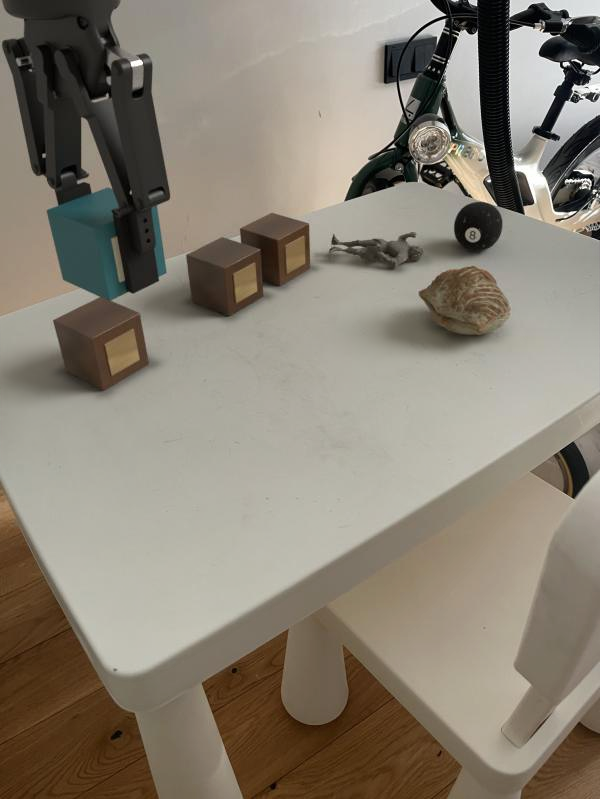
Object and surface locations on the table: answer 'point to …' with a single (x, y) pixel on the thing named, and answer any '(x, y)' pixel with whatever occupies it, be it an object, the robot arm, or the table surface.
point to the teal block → (94, 244)
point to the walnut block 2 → (225, 275)
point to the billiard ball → (478, 226)
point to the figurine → (381, 249)
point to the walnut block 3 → (279, 246)
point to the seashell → (466, 301)
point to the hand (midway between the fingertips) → (115, 273)
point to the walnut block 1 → (101, 342)
